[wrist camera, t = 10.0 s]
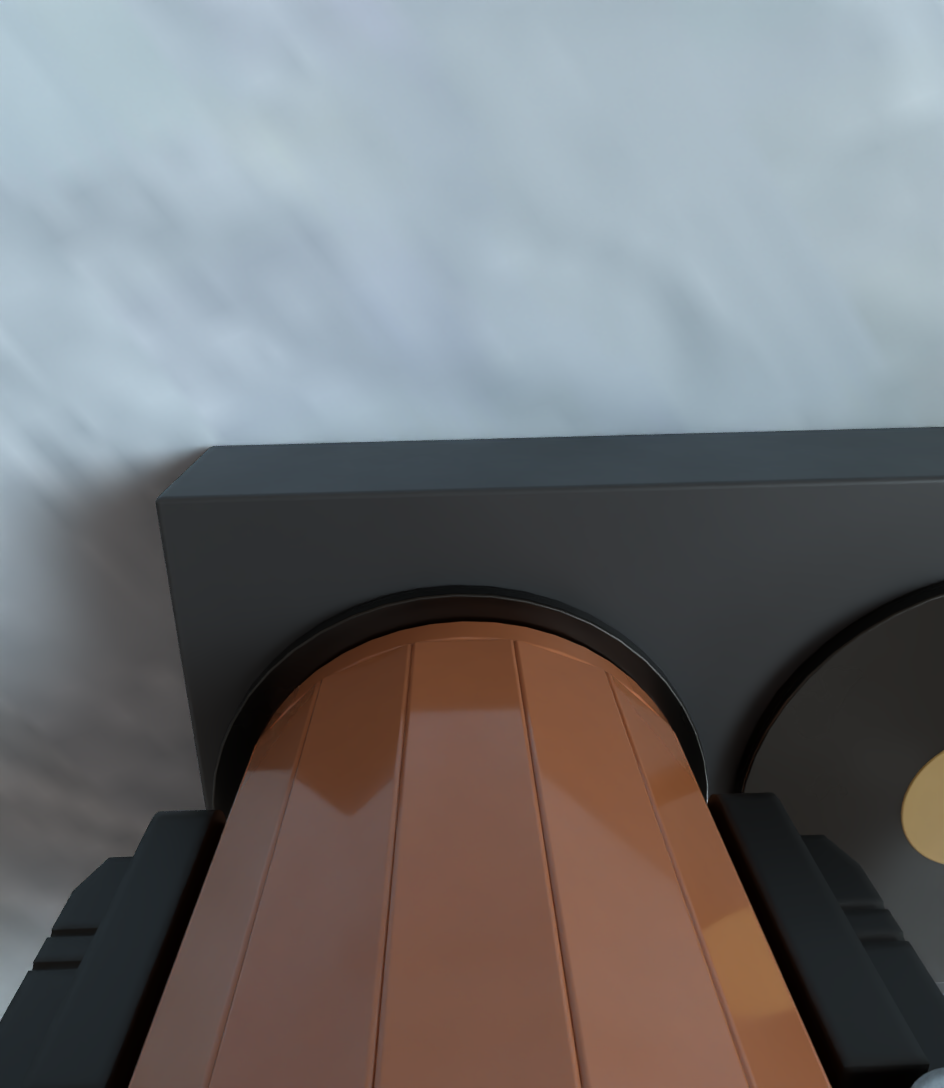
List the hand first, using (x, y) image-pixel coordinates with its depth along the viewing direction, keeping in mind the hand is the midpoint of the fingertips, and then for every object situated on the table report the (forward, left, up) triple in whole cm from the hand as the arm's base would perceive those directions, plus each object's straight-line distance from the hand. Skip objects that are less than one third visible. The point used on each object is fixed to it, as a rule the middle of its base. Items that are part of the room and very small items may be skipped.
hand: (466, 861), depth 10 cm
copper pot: (0, 0, -1) cm, 1 cm away
